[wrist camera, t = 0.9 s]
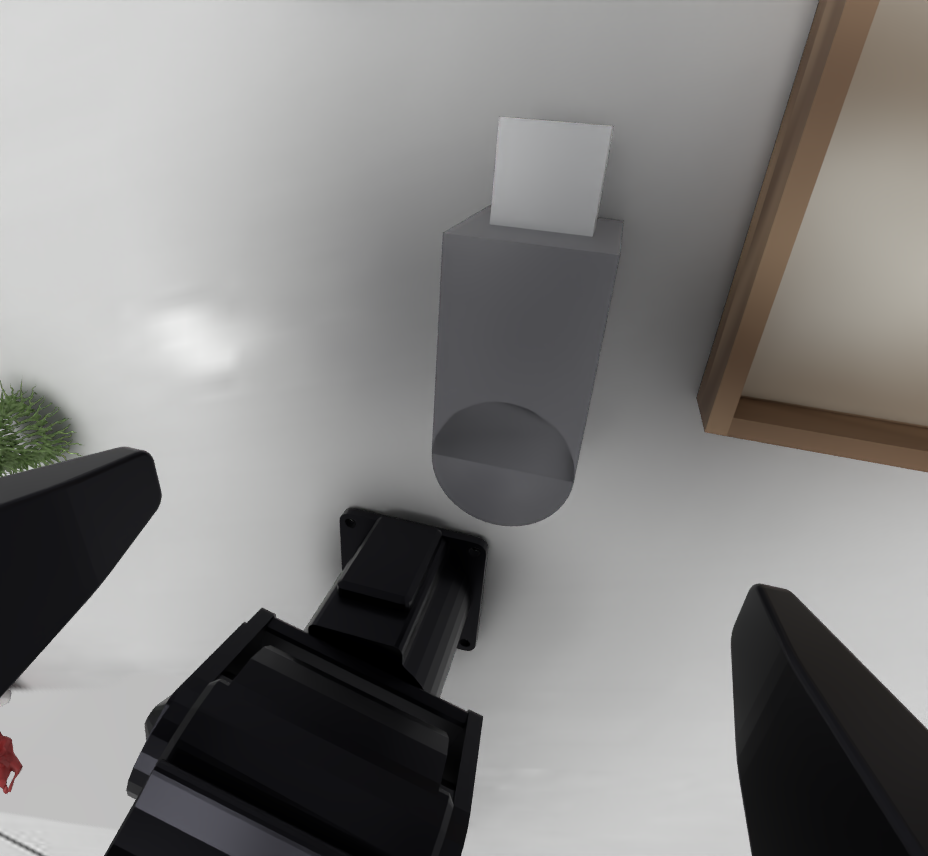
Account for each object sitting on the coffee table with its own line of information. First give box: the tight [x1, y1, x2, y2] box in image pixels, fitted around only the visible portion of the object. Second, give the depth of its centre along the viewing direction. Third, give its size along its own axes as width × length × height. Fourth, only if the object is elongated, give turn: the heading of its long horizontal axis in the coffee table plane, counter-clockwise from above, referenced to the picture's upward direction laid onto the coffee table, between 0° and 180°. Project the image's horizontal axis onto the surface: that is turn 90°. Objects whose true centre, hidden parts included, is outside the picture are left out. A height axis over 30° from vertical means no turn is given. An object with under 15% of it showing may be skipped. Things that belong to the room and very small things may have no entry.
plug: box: [432, 117, 623, 526], centre depth 16 cm, size 10×4×5 cm, turn 176°
